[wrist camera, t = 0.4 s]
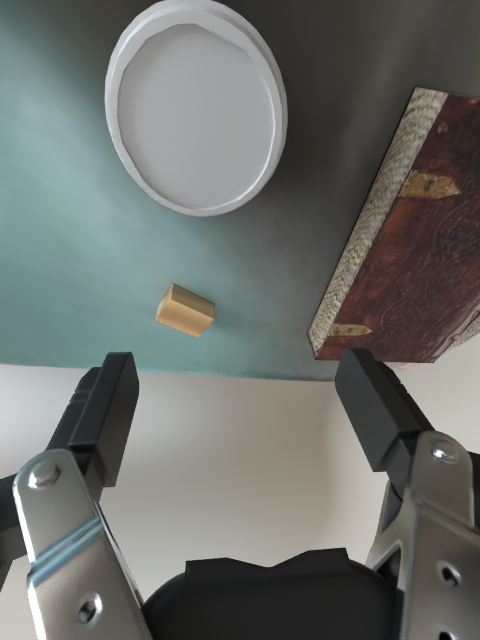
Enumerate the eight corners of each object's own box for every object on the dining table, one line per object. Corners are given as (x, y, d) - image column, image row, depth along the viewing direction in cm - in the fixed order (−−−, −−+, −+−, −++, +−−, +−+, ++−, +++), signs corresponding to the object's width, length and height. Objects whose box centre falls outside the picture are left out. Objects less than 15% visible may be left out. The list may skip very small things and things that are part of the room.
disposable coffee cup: (285, 110, 24) (326, 144, 15) (204, 188, 28) (199, 252, 19) (204, -27, 19) (195, -94, 10) (117, 93, 23) (57, 121, 14)
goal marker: (173, 283, 35) (170, 299, 33) (214, 303, 38) (214, 319, 36) (158, 304, 37) (155, 320, 35) (199, 322, 40) (198, 338, 38)
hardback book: (418, 340, 46) (436, 365, 42) (306, 333, 43) (314, 359, 39) (597, 124, 26) (659, 136, 23) (413, 86, 23) (450, 93, 20)
